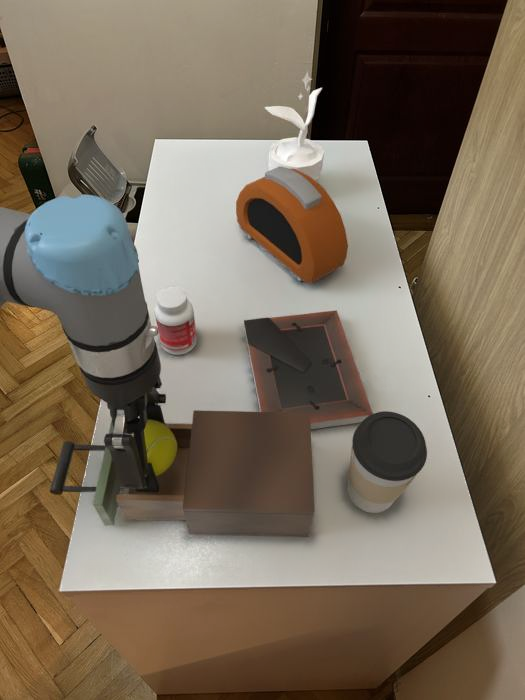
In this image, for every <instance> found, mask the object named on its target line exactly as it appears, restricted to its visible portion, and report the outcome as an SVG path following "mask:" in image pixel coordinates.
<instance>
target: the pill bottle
mask: <svg viewBox="0 0 525 700" xmlns="http://www.w3.org/2000/svg"><path fill="white" fill-rule="evenodd" d="M155 298H156V305H155V307H154V317H155V318H154V319H155V322H156V327H157V328H158V336H159V341H160V345H161V348H162V349H163V350H164V351H165V352H166V353H168V354H171V355H177V356H179V355H185V354H187V353H189V352H191V351H192V350H193V349H194V348H195V347H196V345H197V342H198V339H197V338H198V337H197V328H196V320H195V313H194V312H195V311H194V307H193V304H192V302H191V301H190V300H189V298H188V295H187V293H186V291H185V290H184V289H183V288H181V287H179V286H167V287H164V288H162V289H161V290H159V291H158V293H157V294H156V297H155Z"/></svg>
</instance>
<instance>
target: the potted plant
mask: <svg viewBox="0 0 525 700" xmlns="http://www.w3.org/2000/svg"><path fill="white" fill-rule="evenodd" d="M312 80H313V78H311V77H310V76H309V70H308V69H306V73H305V76H304V77H303V78H302V79H301V81H302V82H303V84H304V89H305V90H306V92H307V94H308V93H309V90H311V87H310V84H309V82H311V81H312ZM322 90H323V87H320V88H317V89H314V90H312V91H311V93H310V95H308V107H307V108H308V109H307V117H306V120H305V122H304V120H303V117H302V116H301V115H300V114H299V113H298V112H297V111H296V110H295V109H294V108H293V107H290V106H284V105H272V106H264V109H265V110H266V111H267V112H268V113H270V114H271V115H272V116H274V117H277V118H280V119H283V120H286V121H288V122H290V123H292V124H293V125H294V126H295V127H297V128H298V129H300V130H299V133H298V136H296V137H295V136H293V137H288V138H287V137H286V138H281V139H279V140H277V141H275V142H274V143H271V146H270V148H269V150H268V162H267V163H268V165H267V166H268V167H267V169H268V171H270V170H273V169H275V168H277V167H279V166H281V167H285V168H288V169H296V170H298V171H300V172H302V173H304V174H306V175H308V176H309V177H311V178H312V179H313V180H314V181H316V180H317V179H318V178H320V176H321V174H322V171H323V165H324V156H325V151H324V149H323V148H322V147H321V145H320V144H319V143H317V142H315V141H313V140H311V139H310V138H306V137H307V135H308V133H309V132H308V131H309V129H308V126H309V125H310V123H311V122H312V119H313V118H314V115H315V110H316V109H315V108H316V104H317V99H318V96H319V94H320V93H321V91H322ZM303 97H304V95H303V94H302V92H300V94H299V95H298V96H297V98H299V101H301V99H302V98H303Z"/></svg>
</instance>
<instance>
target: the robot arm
mask: <svg viewBox="0 0 525 700" xmlns="http://www.w3.org/2000/svg"><path fill="white" fill-rule="evenodd" d="M139 263H140V259H139V253H138V249H137V247H136V244H135V243H134V241H133V238H132V236H131V232H130V228H129V226H128V223H127V219H126V218H125V216H124V214H123V212H122V211H121V209H120V208H119V207H117V205H115V203H112V202H111V201H109V200H108V199H105V198H103V197H101V196H98V195H93V194H81V195H79V196H77V197H71V196H70V195H63V196H59V197H56V198H53V199H51V200H48V201H46V202H44V203H43V204H42V205H40V206H39V207H37V208H36V209H35V210H34V211H33V212H32V213H27V212H24V211H19V210H16V209H10V208H7V207H3V206H0V309H1V308H2V307H3V306H4V305H5V303H12V304H16V305H21V306H25V307H28V308H37V309H40V310H45V311H47V312H51V313H53V314H55V315H56V317H57V318H58V320H59V323H60V325H61V329H62V330H63V332H64V335H65V337H66V339H67V341H68V344H69V346H70V349H71V352H72V354H73V356H74V359H75V361H76V364H77V365H78V367H79V370H80V372H81V375H82V377H83V379H84V381H85V384H86V386H87V388H88V390H89V391H90V392H91V393H92V394H93V395H94V396H95V397H97V398H98V399H100V400H101V401H103V402H104V403H106V406H107V409H108V410H109V415H110V418H111V421H112V423H113V427H114V432H110V434H109V433H105V435H104V437H103V444H104V445H105V446H106V447H107V448H108V449H109V450H110V453H111V456H112V460H113V463H114V466H115V469H116V472H117V475H118V479H119V482H120V485H121V489H129V488H135V489H136V492H158V490H159V485H158V482H157V479H156V476H155V473H154V470H153V467H152V464H151V463H148V459H147V451H146V443H145V434H144V429H145V427H146V424H147V420H148V419H150V420H156V421H158V422H161V423H163V424H164V425H165V423H166V422H165V418H164V414H163V410H162V407H161V404H166V403H167V401H166V400H167V395H166V393H159V391H158V389H161V388H162V385H163V382H162V379H161V372H162V362H161V359H160V354H159V350H158V346H157V342H156V339H155V337H156V336H158V335H159V332H158V327H157V325H152V323H151V318H150V313H149V308H148V302H147V301H146V297H145V293H144V292H145V291H144V287H143V282H142V277H141V272H140V265H139ZM159 404H160V405H159Z"/></svg>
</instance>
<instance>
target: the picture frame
mask: <svg viewBox="0 0 525 700" xmlns="http://www.w3.org/2000/svg"><path fill="white" fill-rule="evenodd" d="M243 330H244V331H243V332H244V336H245V341H246V347H247V353H248V356H249V357H248V358H249V361H250V367H251V373H252V377H253V382H254V383H253V384H254V389H255V393H256V399H257V404H258V408H259V412H293V413H310V423H311V430H316V429H324V428H330V427H331V428H332V427H337V426H345V425H353V424H360V423H361V422H362V421H363V420H364V419H365V418H366V417H368V416H370V415H371V414H374V413H373V411H372V408H371V405H370V402H369V400H368V397H367V393H366V391H365V388H364V385H363V382H362V378H361V377H360V373H359V371H358V368H357V365H356V362H355V359H354V356H353V353H352V350H351V347H350V344H349V341H348V340H347V339H348V338H347V336H346V333H345V330H344V328H343V324H342V322H341V319H340V316H339V313H338V311H337V310H336V309H335V310H327V311H318V312H310V313H309V312H308V313H299V314H294V315H293V314H292V315H284V316H275V317H261V318H251V319H243Z"/></svg>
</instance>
